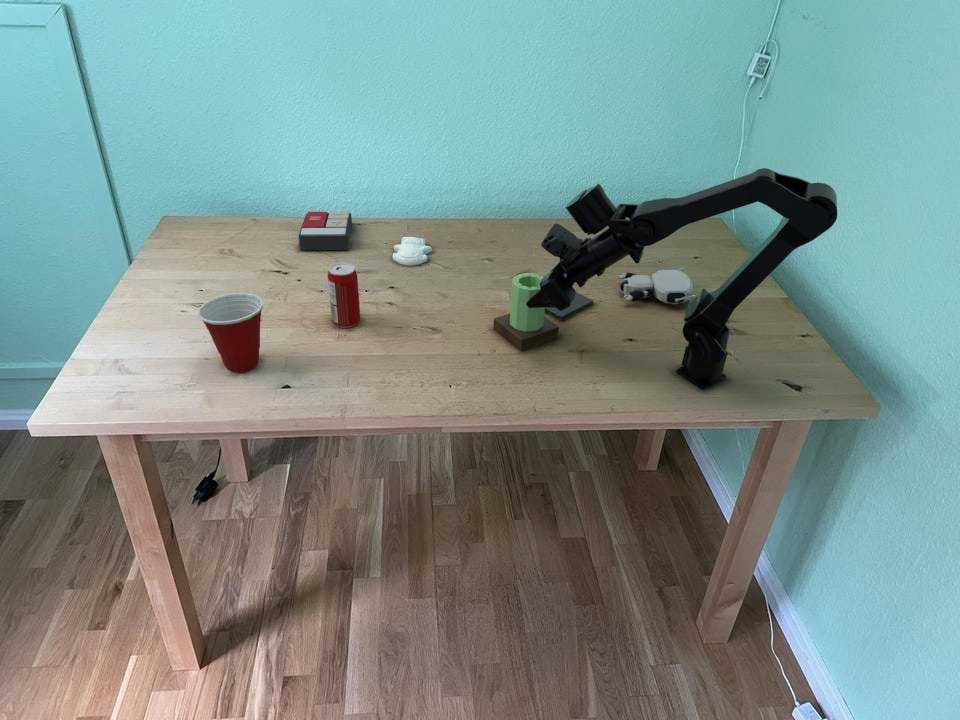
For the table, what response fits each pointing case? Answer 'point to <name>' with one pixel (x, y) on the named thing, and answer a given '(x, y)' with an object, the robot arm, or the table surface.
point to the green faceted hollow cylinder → (521, 293)
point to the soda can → (344, 295)
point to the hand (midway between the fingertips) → (535, 294)
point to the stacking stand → (525, 333)
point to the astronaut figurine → (411, 251)
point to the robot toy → (658, 286)
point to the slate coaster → (570, 307)
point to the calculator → (325, 231)
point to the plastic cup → (234, 328)
